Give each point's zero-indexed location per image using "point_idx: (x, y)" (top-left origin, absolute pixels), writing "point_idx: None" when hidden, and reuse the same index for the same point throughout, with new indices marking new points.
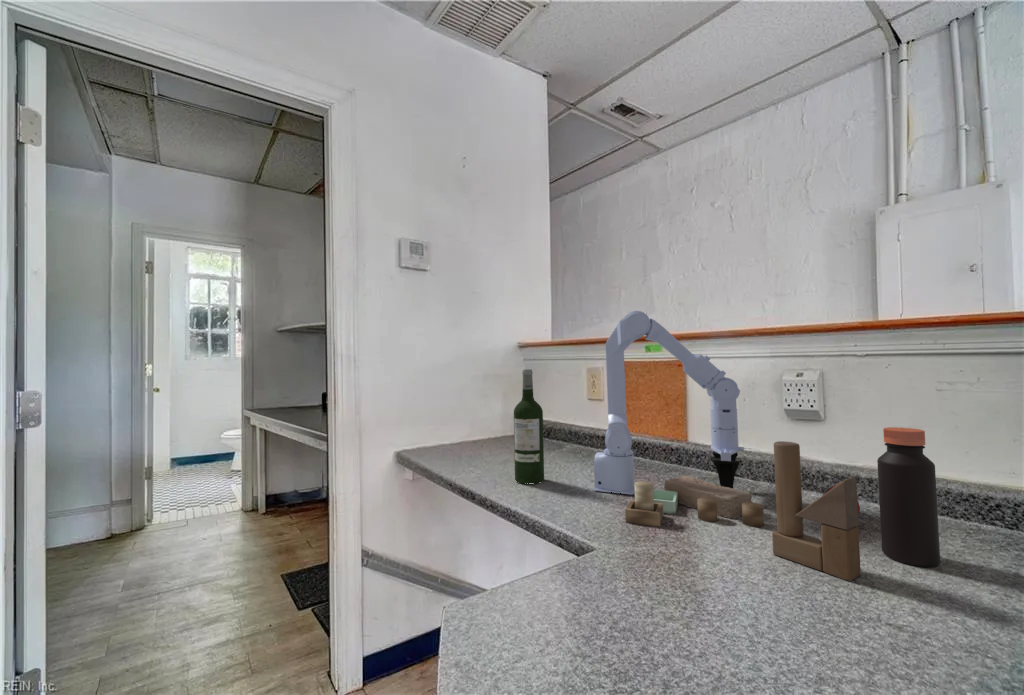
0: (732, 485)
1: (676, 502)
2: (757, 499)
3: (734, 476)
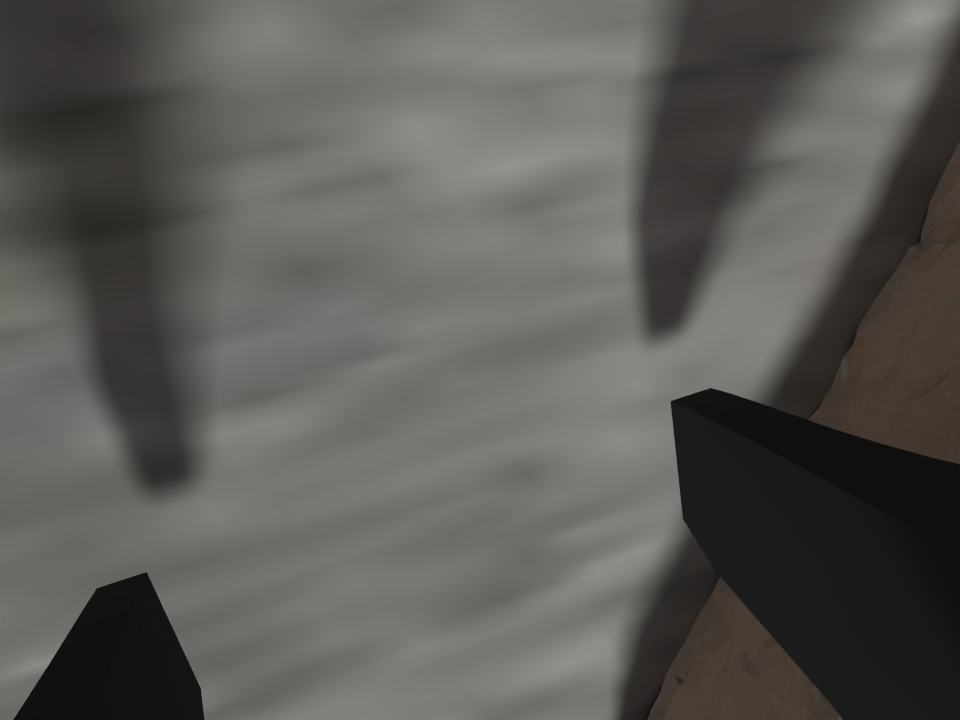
0: (778, 416)
1: None
2: (430, 17)
3: (938, 462)
